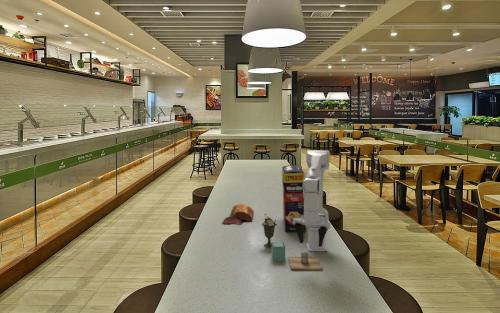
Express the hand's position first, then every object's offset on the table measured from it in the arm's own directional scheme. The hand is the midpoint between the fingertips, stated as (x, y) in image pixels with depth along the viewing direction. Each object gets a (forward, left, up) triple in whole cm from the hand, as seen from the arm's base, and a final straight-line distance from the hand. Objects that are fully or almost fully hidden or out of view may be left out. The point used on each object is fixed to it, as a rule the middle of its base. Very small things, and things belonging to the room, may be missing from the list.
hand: (311, 244), depth 143 cm
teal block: (-10, -12, -10) cm, 18 cm away
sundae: (-26, -15, -10) cm, 32 cm away
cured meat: (-72, -30, -10) cm, 79 cm away
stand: (-4, -2, -10) cm, 11 cm away
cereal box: (-59, 0, -10) cm, 60 cm away
